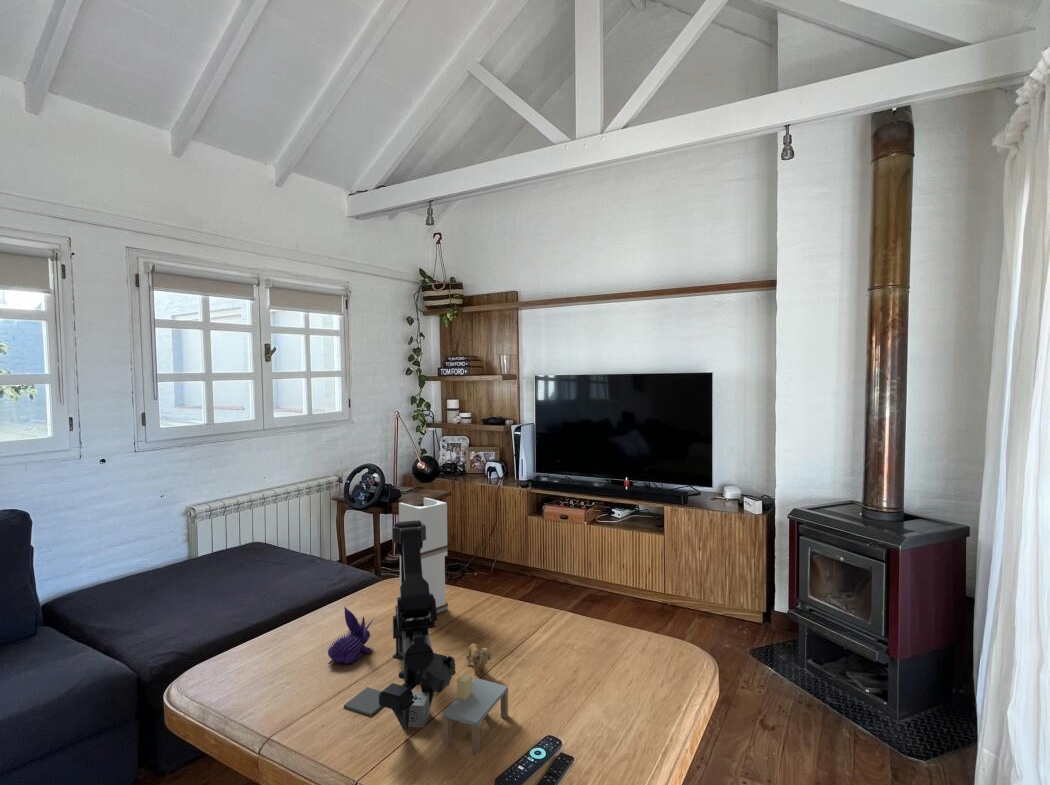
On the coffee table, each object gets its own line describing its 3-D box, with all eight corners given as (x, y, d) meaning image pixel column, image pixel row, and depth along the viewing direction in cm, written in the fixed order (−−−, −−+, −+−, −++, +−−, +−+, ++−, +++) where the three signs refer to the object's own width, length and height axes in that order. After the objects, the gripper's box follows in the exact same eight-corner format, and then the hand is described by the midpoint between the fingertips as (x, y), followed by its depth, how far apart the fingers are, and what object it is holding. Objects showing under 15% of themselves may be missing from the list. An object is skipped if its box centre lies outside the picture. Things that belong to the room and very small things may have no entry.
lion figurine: (494, 677, 140) (494, 648, 140) (479, 682, 138) (479, 653, 137) (473, 656, 150) (473, 630, 150) (458, 661, 148) (458, 634, 147)
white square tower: (448, 609, 180) (446, 502, 179) (421, 620, 172) (419, 508, 171) (427, 599, 188) (425, 497, 187) (400, 609, 180) (398, 503, 179)
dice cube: (409, 712, 125) (408, 691, 125) (430, 714, 125) (430, 692, 125) (401, 726, 121) (401, 704, 120) (423, 728, 120) (423, 706, 120)
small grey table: (443, 744, 114) (442, 693, 114) (476, 707, 127) (476, 661, 127) (476, 755, 111) (476, 703, 111) (508, 716, 124) (507, 668, 123)
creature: (387, 644, 157) (386, 602, 157) (339, 675, 141) (338, 628, 141) (364, 637, 161) (363, 596, 161) (315, 666, 145) (314, 621, 145)
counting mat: (343, 707, 127) (343, 705, 127) (367, 689, 135) (367, 687, 135) (371, 716, 124) (371, 713, 124) (393, 697, 131) (393, 694, 131)
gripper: (421, 676, 109) (422, 754, 109) (469, 636, 126) (470, 703, 126) (376, 665, 113) (377, 739, 114) (428, 627, 130) (429, 692, 131)
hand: (416, 717), depth 121 cm, fingers open, 8 cm apart
